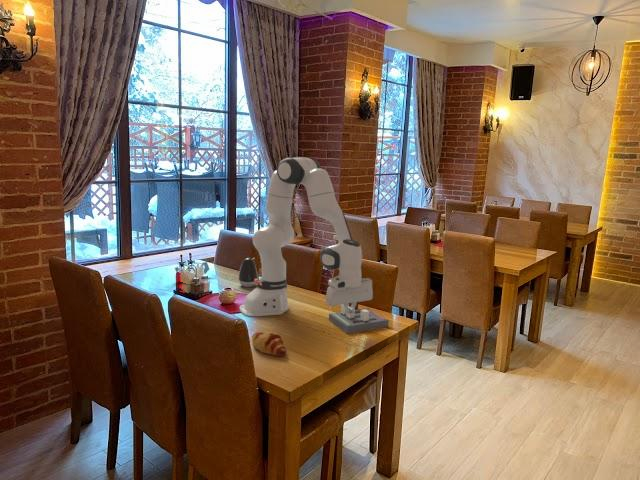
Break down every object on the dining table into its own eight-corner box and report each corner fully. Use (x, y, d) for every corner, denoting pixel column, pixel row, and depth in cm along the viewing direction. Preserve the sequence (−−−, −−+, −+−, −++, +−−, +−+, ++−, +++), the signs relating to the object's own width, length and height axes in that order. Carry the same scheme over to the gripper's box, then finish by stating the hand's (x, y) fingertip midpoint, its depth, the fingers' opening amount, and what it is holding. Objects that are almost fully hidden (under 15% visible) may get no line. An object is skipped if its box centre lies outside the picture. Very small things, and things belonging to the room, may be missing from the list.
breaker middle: (349, 318, 200) (349, 309, 200) (346, 316, 203) (346, 307, 202) (354, 317, 201) (354, 308, 201) (351, 315, 204) (351, 306, 203)
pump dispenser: (262, 285, 255) (262, 257, 252) (249, 289, 247) (249, 261, 244) (247, 281, 260) (247, 254, 258) (234, 286, 252) (234, 258, 249)
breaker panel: (346, 333, 193) (347, 326, 193) (328, 320, 207) (329, 313, 207) (388, 326, 202) (388, 319, 201) (368, 314, 216) (368, 307, 215)
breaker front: (363, 321, 198) (364, 312, 197) (360, 319, 200) (360, 309, 199) (368, 320, 199) (369, 311, 198) (365, 318, 201) (365, 309, 200)
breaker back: (343, 314, 205) (344, 305, 204) (340, 312, 207) (341, 303, 206) (348, 313, 206) (349, 305, 205) (345, 311, 208) (345, 303, 207)
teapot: (202, 284, 254) (201, 264, 252) (174, 282, 255) (173, 263, 253) (210, 276, 269) (209, 257, 267) (183, 275, 270) (183, 256, 268)
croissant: (247, 349, 184) (238, 334, 180) (266, 332, 189) (258, 317, 185) (278, 368, 168) (269, 352, 164) (299, 349, 173) (290, 333, 169)
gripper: (368, 275, 200) (367, 307, 202) (324, 280, 191) (324, 313, 193) (376, 279, 194) (375, 311, 197) (331, 285, 185) (331, 318, 188)
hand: (349, 312), depth 195 cm, fingers closed
